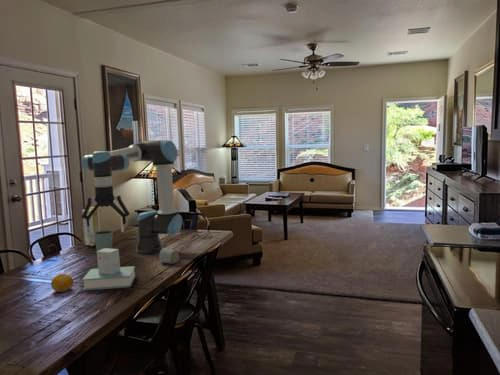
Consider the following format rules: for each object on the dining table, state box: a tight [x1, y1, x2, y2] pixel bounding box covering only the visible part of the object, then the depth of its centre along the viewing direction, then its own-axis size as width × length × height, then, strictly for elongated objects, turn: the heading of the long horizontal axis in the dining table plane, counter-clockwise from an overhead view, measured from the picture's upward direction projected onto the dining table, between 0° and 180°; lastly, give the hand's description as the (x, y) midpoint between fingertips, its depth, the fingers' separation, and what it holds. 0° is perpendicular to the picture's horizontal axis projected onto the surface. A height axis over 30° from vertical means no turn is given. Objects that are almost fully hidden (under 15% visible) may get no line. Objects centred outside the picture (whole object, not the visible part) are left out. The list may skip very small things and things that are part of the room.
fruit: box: [50, 273, 74, 293], centre depth 169 cm, size 8×9×8 cm
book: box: [82, 265, 136, 291], centre depth 177 cm, size 14×20×5 cm
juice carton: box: [82, 206, 101, 247], centre depth 246 cm, size 9×8×24 cm
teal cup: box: [94, 230, 114, 252], centre depth 228 cm, size 10×10×12 cm
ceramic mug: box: [159, 247, 180, 265], centre depth 206 cm, size 11×8×8 cm
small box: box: [96, 248, 121, 275], centre depth 176 cm, size 8×6×10 cm
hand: (107, 232), depth 176 cm, fingers open, 13 cm apart
